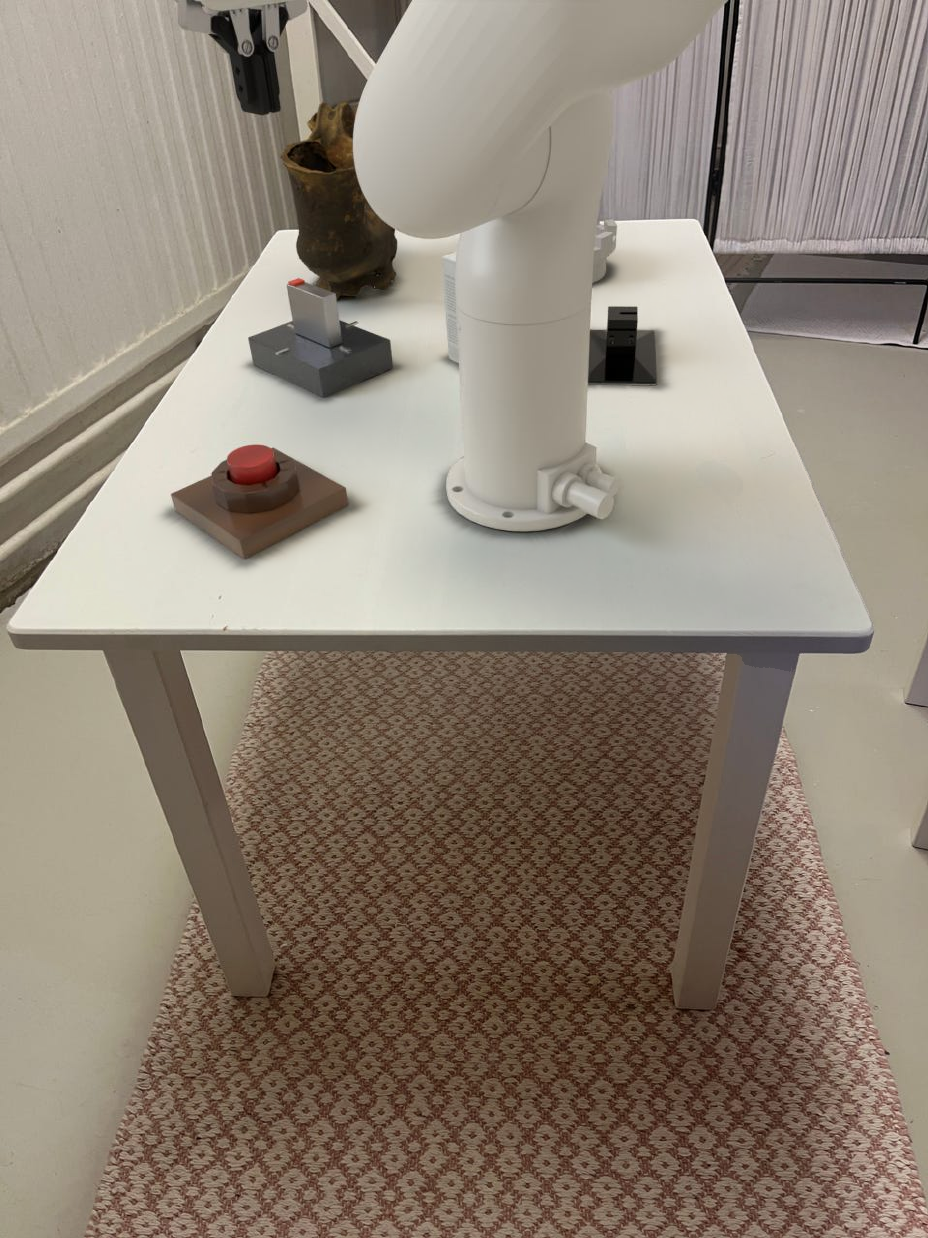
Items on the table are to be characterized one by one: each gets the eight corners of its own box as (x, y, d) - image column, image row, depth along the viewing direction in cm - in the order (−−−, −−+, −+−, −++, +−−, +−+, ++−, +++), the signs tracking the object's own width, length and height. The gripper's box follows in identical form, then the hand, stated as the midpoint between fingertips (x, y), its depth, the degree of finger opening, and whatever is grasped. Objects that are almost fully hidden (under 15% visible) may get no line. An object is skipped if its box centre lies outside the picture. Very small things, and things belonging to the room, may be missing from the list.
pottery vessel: (329, 250, 124) (306, 81, 111) (409, 248, 123) (396, 77, 110) (291, 323, 105) (258, 128, 92) (386, 321, 104) (366, 124, 91)
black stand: (656, 386, 88) (660, 339, 85) (579, 385, 89) (581, 339, 86) (654, 332, 98) (657, 289, 95) (584, 332, 99) (586, 289, 96)
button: (286, 473, 73) (282, 454, 71) (248, 492, 71) (243, 472, 70) (260, 458, 75) (256, 439, 74) (222, 476, 73) (217, 456, 72)
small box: (507, 337, 99) (505, 235, 92) (541, 353, 95) (541, 248, 88) (446, 359, 95) (439, 254, 89) (479, 376, 92) (474, 269, 85)
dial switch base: (398, 365, 95) (395, 336, 93) (318, 400, 89) (313, 369, 87) (326, 336, 101) (321, 307, 99) (248, 366, 96) (242, 337, 94)
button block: (348, 505, 74) (343, 467, 72) (244, 560, 69) (235, 520, 67) (276, 464, 80) (269, 427, 78) (175, 511, 75) (164, 474, 73)
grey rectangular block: (342, 343, 92) (335, 290, 89) (329, 348, 91) (322, 295, 88) (306, 327, 96) (298, 276, 92) (294, 332, 95) (285, 281, 91)
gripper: (137, -203, 55) (205, 137, 67) (334, -206, 63) (364, 99, 75) (78, -195, 59) (152, 124, 71) (269, -198, 67) (308, 89, 79)
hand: (261, 110), depth 73 cm, fingers closed
